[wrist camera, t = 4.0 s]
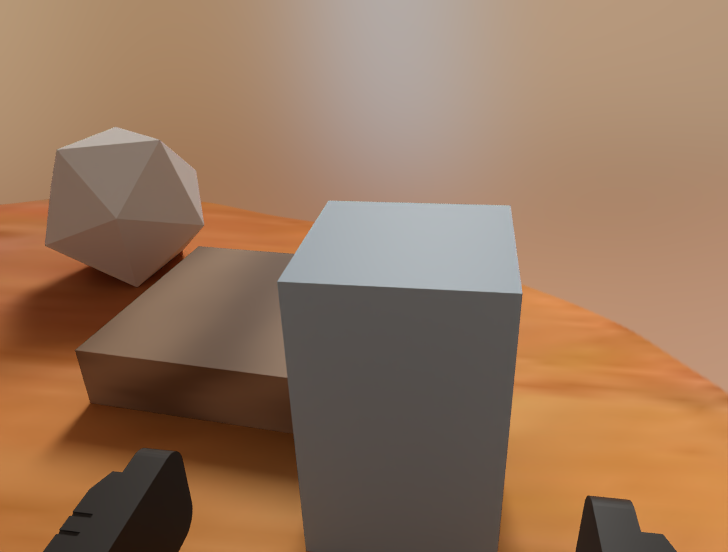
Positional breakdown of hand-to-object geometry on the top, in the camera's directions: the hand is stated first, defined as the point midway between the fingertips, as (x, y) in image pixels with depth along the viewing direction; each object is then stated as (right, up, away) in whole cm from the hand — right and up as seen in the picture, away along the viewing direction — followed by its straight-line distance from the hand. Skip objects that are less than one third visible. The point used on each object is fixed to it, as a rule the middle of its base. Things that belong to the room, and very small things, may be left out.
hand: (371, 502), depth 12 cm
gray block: (+1, -3, +8) cm, 9 cm away
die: (-14, +5, +24) cm, 28 cm away
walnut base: (-5, +1, +16) cm, 17 cm away
